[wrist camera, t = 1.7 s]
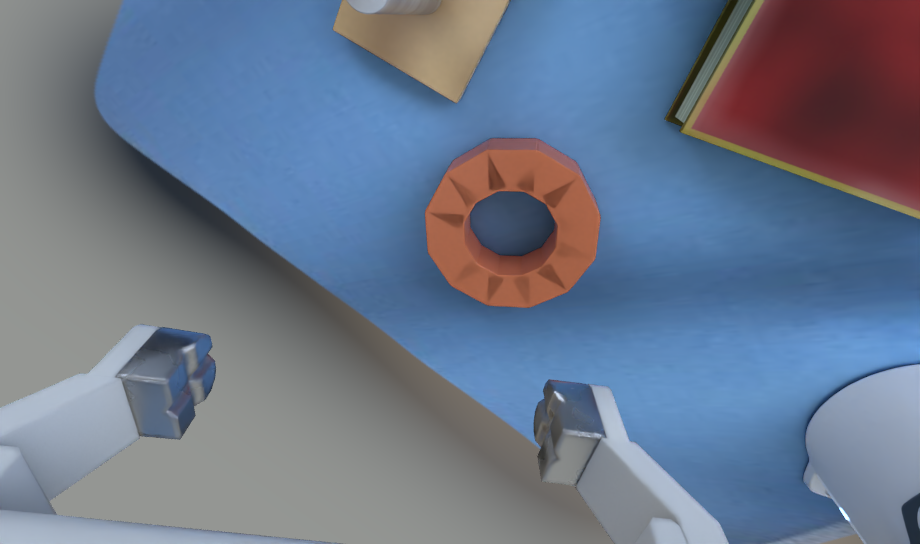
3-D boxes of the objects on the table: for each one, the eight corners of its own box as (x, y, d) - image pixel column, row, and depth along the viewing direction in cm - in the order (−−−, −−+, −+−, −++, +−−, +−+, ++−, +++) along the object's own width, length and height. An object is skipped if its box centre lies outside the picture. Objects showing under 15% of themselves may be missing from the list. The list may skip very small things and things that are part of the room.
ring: (628, 192, 32) (636, 209, 30) (535, 309, 38) (535, 331, 36) (482, 105, 31) (477, 113, 28) (409, 240, 37) (399, 258, 34)
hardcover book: (785, -108, 24) (831, -130, 20) (1150, 31, 24) (1259, 34, 21) (664, 119, 30) (682, 133, 26) (958, 225, 30) (1015, 254, 27)
